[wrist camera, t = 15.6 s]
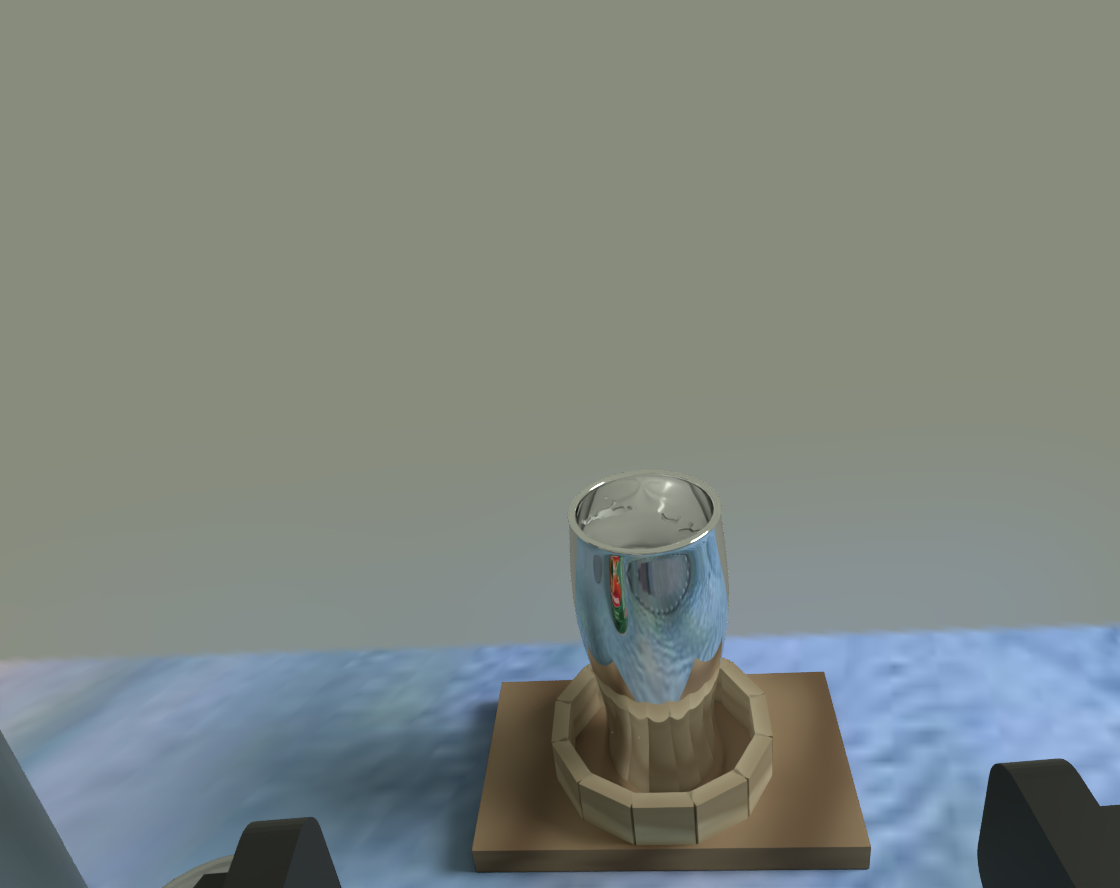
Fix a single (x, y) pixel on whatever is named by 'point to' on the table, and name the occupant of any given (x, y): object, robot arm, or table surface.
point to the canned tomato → (200, 873)
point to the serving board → (674, 817)
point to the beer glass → (653, 622)
